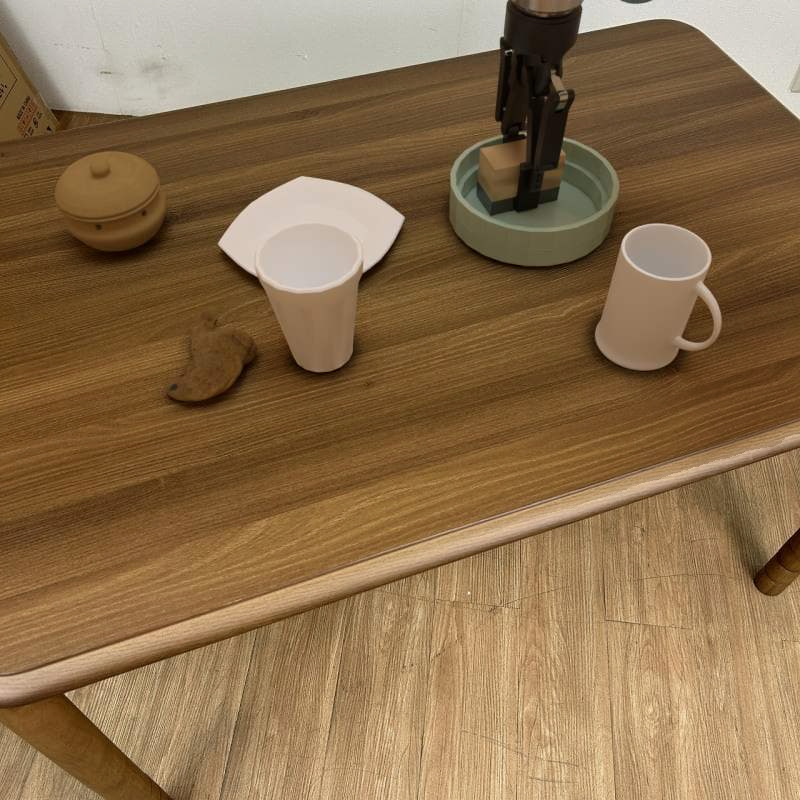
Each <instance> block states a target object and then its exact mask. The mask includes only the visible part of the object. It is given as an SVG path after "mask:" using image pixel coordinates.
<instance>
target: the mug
mask: <svg viewBox="0 0 800 800" xmlns="http://www.w3.org/2000/svg"><path fill="white" fill-rule="evenodd" d="M711 263H712V252H711V250H710V247H709V246H708V244H707V243H706V242H705V240H703V239H702V237H700V236H699V235H697V234H696V233H694V232H693V231H691V230H688V229H686V228H684V227H682V226H678V225H674V224H668V223H647V224H642V225H639V226H637V227H635V228H632V229H631V230H629V231H628V232H627V233H626V234H625V235H624V237H623V239H622V241H621V243H620V248H619V252H618V255H617V259H616V263H615V267H614V270H613V273H612V277H611V281H610V284H609V288H608V292H607V296H606V300H605V302H604V307H603V310H602V314H601V318H600V320H599V322H598V323H597V325H596V327H595V331H594V339H595V344H596V345H597V347H598V349H599V350H600V352H601V353H602V354H603V355H604V356H605V358H607V359H608V360H610V361H611V362H612V363H614V364H616V365H618V366H620V367H622V368H624V369H625V368H626V369H629V370H633V371H640V372H641V371H642V372H643V371H645V372H646V371H655V370H659V369H662V368H663V367H666V366H667V365H669V364H671V363H672V362H673V361H674V360H675V358H676V357H677V355H678V353H679V350H684V351H688V352H698V351H701V350H705V349H706V348H709V347H710V346H711V345H713V344H714V342H715V341H716V340H717V339H718V337H719V335H720V332H721V329H722V321H723V320H722V313H721V309H720V306H719V303H718V302H717V300H716V298H715V296H714V295H713V293H712V292H711V291H710V290H709V288H708V287H707V286H706V285H705V284H704V281H705V279H706V277H707V274H708V271H709V269H710V266H711ZM698 297H699V298H701V299H702V300H703V301H704V302H705V303H704V304H706V306H707V307H708V309H709V311H710V313H711V316H712V320H713V330H712V334H711V335H710V337H709V338H708V339H707V340H705V341H703V342H693V341H689V340H687V339H685V338H683V337H682V336H683V334H684V332H685V329H686V326H687V324H688V322H689V319H690V317H691V316H690V315H691V314H692V311H693V309H694V307H695V304H696V301H697V299H698Z"/></svg>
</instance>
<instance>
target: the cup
mask: <svg viewBox="0 0 800 800" xmlns="http://www.w3.org/2000/svg"><path fill="white" fill-rule="evenodd" d="M363 261H364V257H363V245H362V244H361V242H360V241H359V240H358V238H357V237H356V236H355V234H354V233H352V232H351V231H349V230H347V229H345V228H343V227H341V226H340V225H338V224H333V223H328V222H323V221H307V222H297V223H294V224H291V225H288V226H285V227H282V228H279V229H278V230H276V231H275V232H273V233H272V234H271V235H269V236H268V237H266V238H265V239H264V240H263V242H262V243H261V245H260V246H259V248H258V249H257V250H256V252H255V263H254V267H255V270H256V273H257V275H258V277H257V279H258V281H259V283H260V285H261V286H262V288H263V289H264V291H265V293H266V295H267V298H268V300H269V303H270V305H271V308H272V310H273V313H274V314H275V317H276V319H277V321H278V324H279V327H280V329H281V332H282V333H283V336H284V339H285V341H286V343H287V345H288V347H289V350H290V352H291V355H292V357H293V359H294V361H295V362H296V364H297V365H298V366H300V367H302V368H303V369H304V370H306V371H310V372H313V373H326V372H332V371H334V370H337V369H339V368H341V367H343V366H344V365H345V364H346V363H347V362H348V361H350V358H351V357H352V355H353V352H354V336H355V326H356V325H355V324H356V315H357V303H358V293H359V282H360V280H361V277H362V276H363V274H364V273H363Z"/></svg>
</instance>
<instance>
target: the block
mask: <svg viewBox="0 0 800 800" xmlns="http://www.w3.org/2000/svg"><path fill="white" fill-rule="evenodd" d="M565 158H566V154H565V152H564V151H563V150H562V149H561V153H560V158H559V163H558V168H557V169H555V170H550V171H546V172H544V177H543V183H542V188H541V191H540V196H539V202H538V204H543V203H547V202H551V201H555V200H557V199H558V194H559V189H560V184H561V178H562V173H563V168H564V163H565ZM523 162H526V139H523V140H518V141H513V142H509V143H504V144H499V145H495V146H490V147H485V148H481V149H480V157H479V168H478V181H477V190H476V195H477V196H478V198H479V199H480V201H481V202H482V204H483V205H484V207H485V208H486V210H487V211H488V213H489V214H490V216H491V215H496V214H500V213H504V212H509V211H513V210H515V204H516V196H517V189H518V182H519V175H520V163H523Z"/></svg>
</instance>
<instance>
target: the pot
mask: <svg viewBox="0 0 800 800" xmlns="http://www.w3.org/2000/svg"><path fill="white" fill-rule="evenodd" d="M160 182H161V181H160V177H159V175H158V172H157V171H156V169H155V167H153V166H152V165H151V164H150V163H149V162H148V161H146V160H145V159H143V158H142V157H140V156H137V155H135V154H132V153H128V152H124V151H116V150H115V151H112V150H111V151H108V150H107V151H99V152H96V153H92V154H89V155H85V156H83V157H81V158H79V159H78V160H76V161H74V162H73V163H72V164H71V165H69V166H68V167H67V168H66V169H65V170H64V171H63V172H62V174H60V176H59V179H58V180H57V182H56V185H55V188H54V196H53V197H54V200H55V203H56V205H57V209H58V210H59V211H60V212H61V213H62V214H63V222H64V224H65V227H66V229H67V230H68V231H69V232H70V234H71V235H72V236H73V237H75V238H76V239H77V240H79V241H80V242H82V243H83V244H85V245H87V246H88V247H89V248H90V247H91V248H93V249H95V250H99V251H104V252H110V253H111V252H124V251H129V250H132V249H135V248H138V247H140V246H141V245H144V244H145V243H147V242H149V241H150V240H151V239H152V238H153V237H154V236H155V235H156V234H157V233H158V232H159V229H160V228H161V227H162V225H163V224H164V220H165V216H166V214H167V198H166V195H165V193H164V191H163V189H161V188H160V187H161V183H160Z"/></svg>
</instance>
